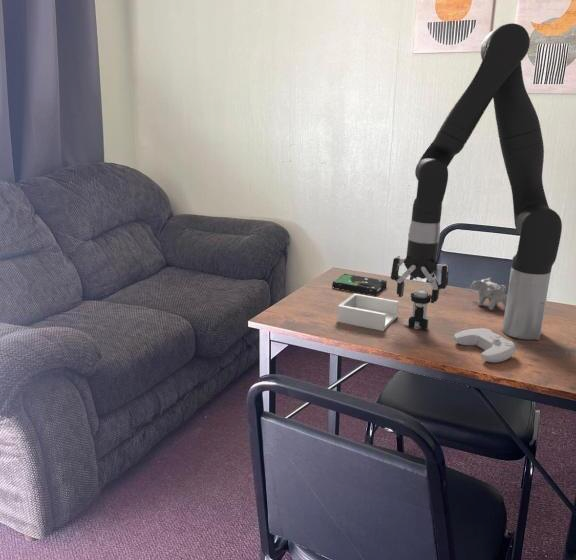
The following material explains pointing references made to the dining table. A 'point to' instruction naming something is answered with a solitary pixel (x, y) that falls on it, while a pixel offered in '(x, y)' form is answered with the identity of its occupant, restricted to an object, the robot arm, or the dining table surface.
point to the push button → (419, 310)
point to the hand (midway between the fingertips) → (416, 299)
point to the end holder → (368, 311)
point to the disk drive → (360, 284)
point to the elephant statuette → (489, 292)
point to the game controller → (487, 344)
